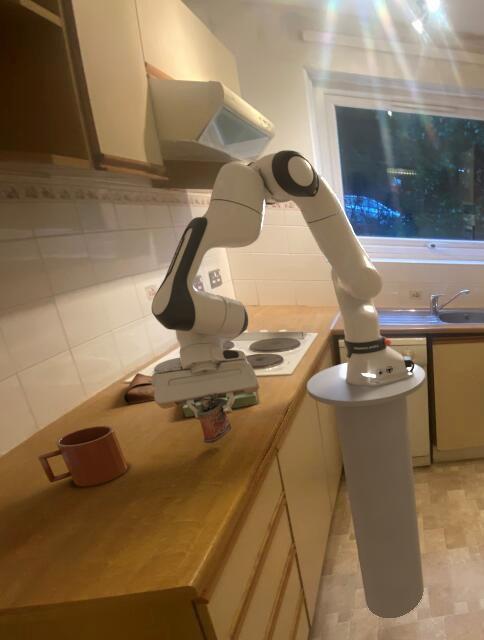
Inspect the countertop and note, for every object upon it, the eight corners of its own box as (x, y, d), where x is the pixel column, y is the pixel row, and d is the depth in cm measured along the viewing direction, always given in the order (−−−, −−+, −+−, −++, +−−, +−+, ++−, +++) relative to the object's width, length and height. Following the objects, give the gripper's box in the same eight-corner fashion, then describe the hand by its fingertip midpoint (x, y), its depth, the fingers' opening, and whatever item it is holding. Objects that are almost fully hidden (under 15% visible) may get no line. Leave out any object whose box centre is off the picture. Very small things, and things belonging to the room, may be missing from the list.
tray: (255, 388, 136) (253, 380, 135) (257, 403, 126) (255, 395, 125) (188, 399, 128) (186, 391, 127) (185, 417, 118) (182, 408, 117)
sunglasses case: (162, 397, 128) (141, 381, 124) (140, 412, 127) (118, 397, 123) (168, 377, 142) (149, 363, 138) (148, 391, 141) (129, 377, 137)
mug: (121, 459, 98) (107, 421, 95) (132, 472, 93) (117, 434, 90) (50, 482, 90) (31, 442, 86) (57, 499, 85) (37, 457, 81)
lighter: (216, 443, 99) (206, 404, 95) (200, 443, 98) (190, 403, 94) (234, 426, 106) (226, 389, 102) (220, 426, 106) (211, 388, 102)
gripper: (145, 365, 96) (153, 421, 92) (250, 350, 106) (262, 400, 102) (154, 377, 101) (162, 431, 97) (253, 361, 111) (265, 410, 107)
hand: (214, 415), depth 100 cm, fingers closed on lighter, 4 cm apart
